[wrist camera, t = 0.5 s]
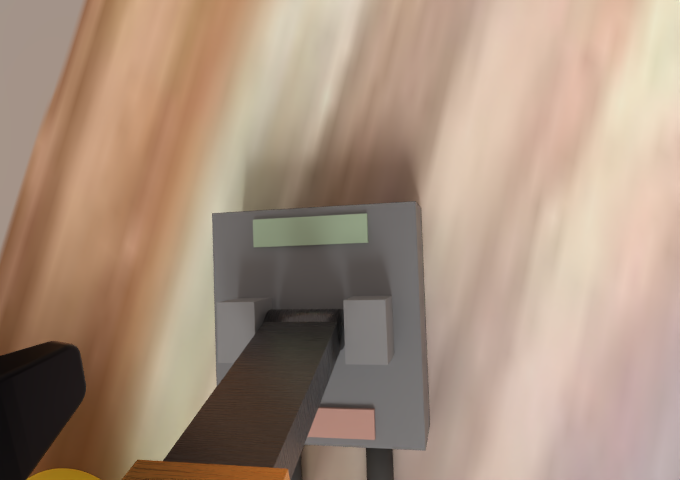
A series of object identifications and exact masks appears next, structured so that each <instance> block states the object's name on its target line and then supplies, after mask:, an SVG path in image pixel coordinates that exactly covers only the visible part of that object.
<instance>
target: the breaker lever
mask: <svg viewBox="0 0 680 480" xmlns="http://www.w3.org/2000/svg"><path fill="white" fill-rule="evenodd" d="M344 346H345V335H344V310H343V309H273V310H268V311H267V313H266V315H265V318H264V322H263V324H262V325H261V326H260V328H259V329H258V331H257V332H256V333H255V335H254V336H253V338H252V339H251V340H250V342H249V343H248V344H247V346H246V347H245V349H244V350H243V351H242V353H241V354H240V355H239V357H238V358H237V360H236V361H235V362H234V364H233V365H232V366H231V368H230V369H229V371H228V372H227V373H226V375H225V376H224V378H223V379H222V380H221V382H220V383H219V384H218V386H217V387H216V389H215V390H214V391H213V393H212V394H211V395H210V397H209V398H208V400H207V401H206V402H205V404H204V405H203V406H202V408H201V409H200V411H199V412H198V413H197V415H196V416H195V417H194V419H193V420H192V422H191V423H190V424H189V426H188V427H187V429H186V430H185V431H184V433H183V434H182V435H181V437H180V438H179V440H178V441H177V442H176V444H175V445H174V446H173V448H172V449H171V451H170V452H169V453H168V455H167V456H166V457H165V459H164V460H163V461H150V460H137V461H136V462H135V463H134V465H133V466H132V467H131V468H130V470H129V471H128V472H127V473H126V475H125V476H124V477H123V478H122V480H291V478H292V475H293V473H294V470H295V467H296V465H297V462H298V460H299V457H300V454H301V452H302V449H303V447H304V444H305V441H306V439H307V436H308V434H309V431H310V428H311V426H312V423H313V421H314V418H315V415H316V413H317V410H318V408H319V405H320V402H321V400H322V397H323V395H324V392H325V389H326V387H327V384H328V382H329V379H330V376H331V374H332V371H333V369H334V366H335V363H336V361H337V358H338V356H339V353H340V350H342V349H343V348H344Z"/></svg>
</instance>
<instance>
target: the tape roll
mask: <svg viewBox="0 0 680 480" xmlns="http://www.w3.org/2000/svg"><path fill="white" fill-rule="evenodd" d="M26 480H101V479H99V478H97V477H95V476H93V475H91V474H89V473H86V472H83V471H80V470H75V469H68V468H57V469H50V470H46V471H42V472H40V473H37V474H35V475H33V476H31V477H29V478H27V479H26Z"/></svg>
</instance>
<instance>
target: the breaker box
mask: <svg viewBox="0 0 680 480" xmlns="http://www.w3.org/2000/svg"><path fill="white" fill-rule="evenodd" d="M212 223H213V261H214V299H215V337H216V375H217V386H218V384H219V383H220V382H221V380H222V379H223V378H224V376H225V375H226V373H227V372H228V371H229V369H230V368H231V366H232V365H233V364H234V362H235V361H236V360H237V358H238V357H239V355H240V354H241V353H242V351H243V350H244V349H245V347H246V346H247V344H248V343H249V342H250V340H251V339H252V338H253V336H254V335H255V333H256V332H257V331H258V329H259V328H260V326H261V325H262V324H263V322H264V318H265V315H266V313H267V311H268V310H273V309H343V310H344V335H345V346H344V348H343V349H342V350H340V353H339V356H338V358H337V361H336V363H335V366H334V369H333V371H332V374H331V376H330V379H329V382H328V384H327V387H326V389H325V392H324V395H323V397H322V400H321V402H320V405H319V408H318V410H317V413H316V415H315V418H314V421H313V423H312V426H311V428H310V431H309V434H308V436H307V439H306V441H305V444H304V445H322V446H343V447H363V448H384V449H405V450H425V451H426V445H427V439H428V433H429V427H430V415H429V391H428V366H427V342H426V317H425V293H424V268H423V244H422V220H421V208H420V206H419V205H418V204H417V203H416V201H413V202H396V203H379V204H362V205H345V206H328V207H311V208H294V209H277V210H260V211H243V212H226V213H212Z"/></svg>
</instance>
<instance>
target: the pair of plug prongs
mask: <svg viewBox="0 0 680 480" xmlns="http://www.w3.org/2000/svg"><path fill="white" fill-rule="evenodd" d="M366 458H367V480H394V478H393V452H392V449H384V448H366ZM291 480H302V475H301V454H300V457H299V460H298V462H297V465H296V467H295V470H294V473H293V475H292V478H291Z"/></svg>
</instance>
